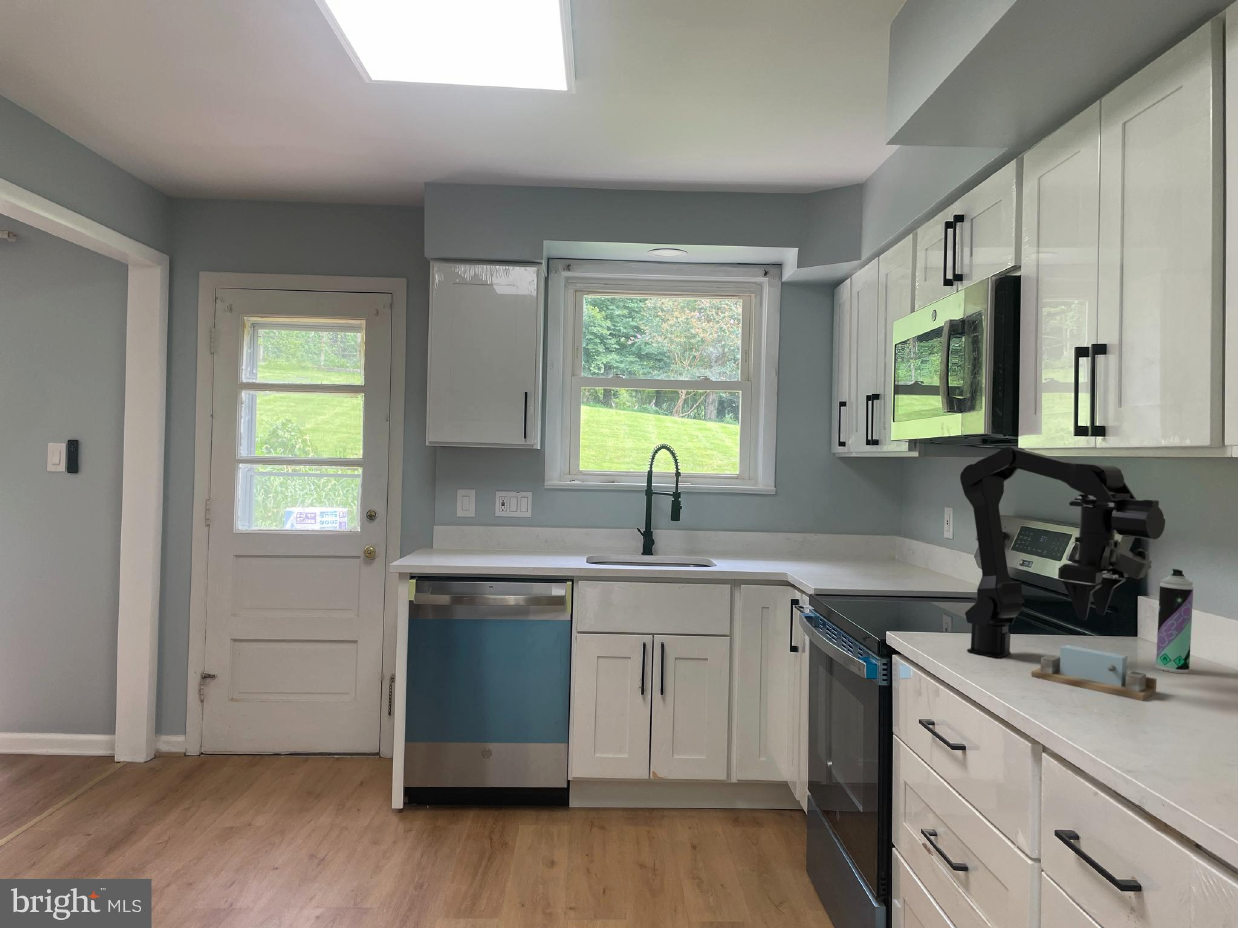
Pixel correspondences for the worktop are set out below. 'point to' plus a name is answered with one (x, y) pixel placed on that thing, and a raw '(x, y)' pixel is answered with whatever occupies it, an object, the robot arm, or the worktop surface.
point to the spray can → (1174, 623)
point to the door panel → (1093, 665)
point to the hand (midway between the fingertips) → (1092, 617)
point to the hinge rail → (1134, 687)
